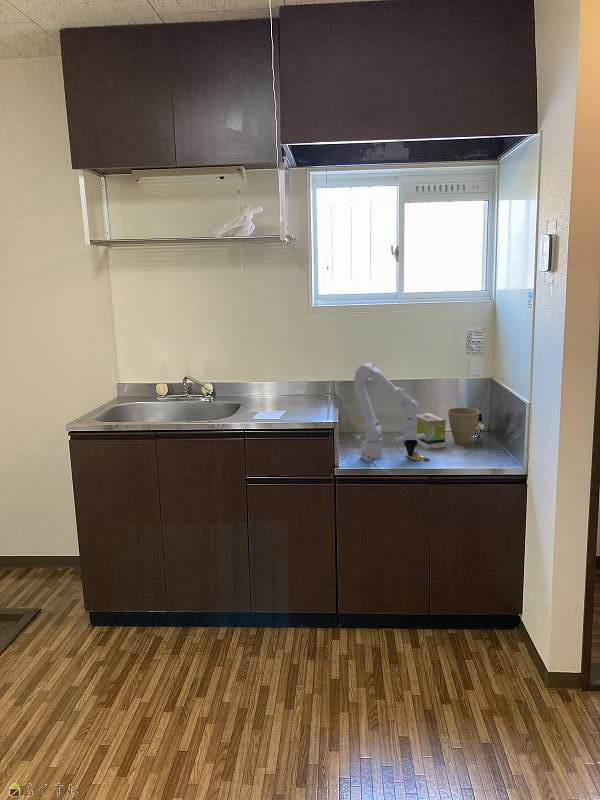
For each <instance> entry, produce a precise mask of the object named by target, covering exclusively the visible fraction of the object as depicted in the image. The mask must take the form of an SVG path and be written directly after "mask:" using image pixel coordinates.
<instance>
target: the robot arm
mask: <svg viewBox="0 0 600 800" xmlns="http://www.w3.org/2000/svg"><path fill="white" fill-rule="evenodd" d="M354 373H355V375H354V379H353V389H354V393H355V395H356V397H357V401H358V404H359V406H360V410H361V413H362V415H363V419H364V429H365V434H364V435H365V436H364V437H365V438H366V440H362V441H361V442H360V456H359V458H361V459H363V460H364V461H365V462H367V463H370V462H375V459H381V458H382V457H383V437H382V435H383V433H384V427H383V425H382V424H381V423H380V421H379V419H378V418H377V417H376V414H375V411H374V408H373V404H372V401H371V398H370V395H369V392H368V389H367V386H366V384H367V383H368V381H369V380H370V381H376V382H378V383H379V384H380V385H381V386H382V387H384V389H386V390H387V391H388V392H389V393H390V397H391V399H393V400H394V401H395V402H396V403H397V404H398V405H399V406H400V407H401V408H402V411H403V435H401V436H397V437H394V442H395V443H396V444H399V443H403V444H404V446H405V449H406V452H407V454H408V456H410V457H411V456H413V452H414V451H415V448H416V447H417V445H419V444H418V441H416V440H417V439H426V435H425V434H417V414H418V413H417V412H418V411H417V410H418V408H419V403H418V402H417V400H416V399H415V398H413V397H412V396H409V394H407V392H405V389H404V388H401V387H397V386H395V385H394V384H393V382H392V381H391V380H389V378H388V377H387V376H386V375H385V374H384V373H383V372H382V371H381V370H380V368H379V367H377V366H376V365H375V364H374V363H372V362H371V361H368V362H367V361H366V362H364V364H362V365H360V366H359V367H358V368H357V369H356V371H355V372H354ZM408 456H407V457H408ZM410 457H409V458H410Z"/></svg>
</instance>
